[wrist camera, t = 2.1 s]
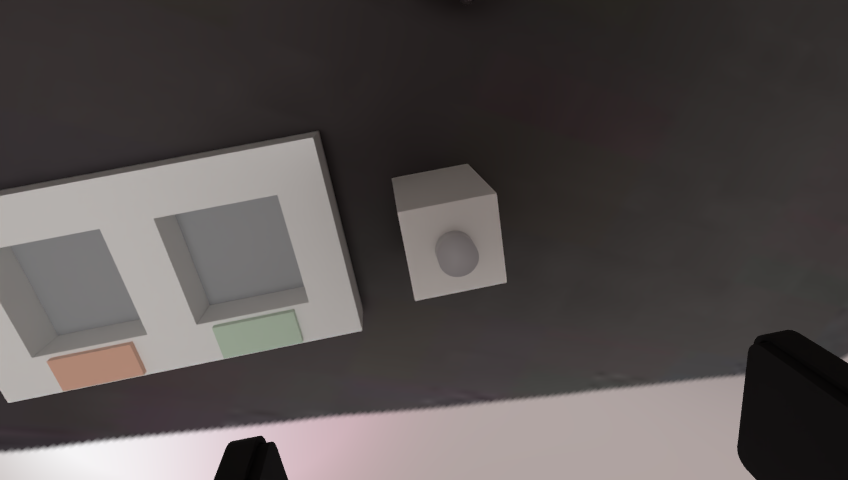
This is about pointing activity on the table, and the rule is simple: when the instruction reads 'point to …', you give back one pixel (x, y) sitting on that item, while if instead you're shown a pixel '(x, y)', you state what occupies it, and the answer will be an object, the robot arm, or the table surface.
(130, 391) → the table surface
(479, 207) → the plug
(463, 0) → the power plug
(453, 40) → the table surface
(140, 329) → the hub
